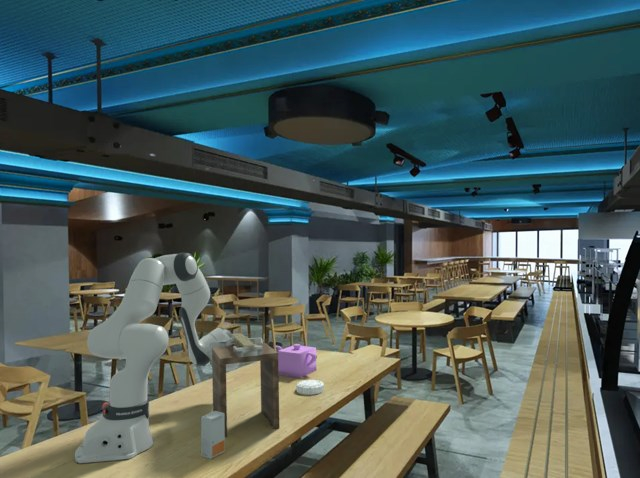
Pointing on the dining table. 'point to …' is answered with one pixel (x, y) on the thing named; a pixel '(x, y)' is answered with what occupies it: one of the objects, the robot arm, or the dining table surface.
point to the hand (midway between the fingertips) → (239, 339)
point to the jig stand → (268, 377)
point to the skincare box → (212, 434)
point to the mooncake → (310, 387)
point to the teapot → (296, 360)
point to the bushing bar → (241, 341)
